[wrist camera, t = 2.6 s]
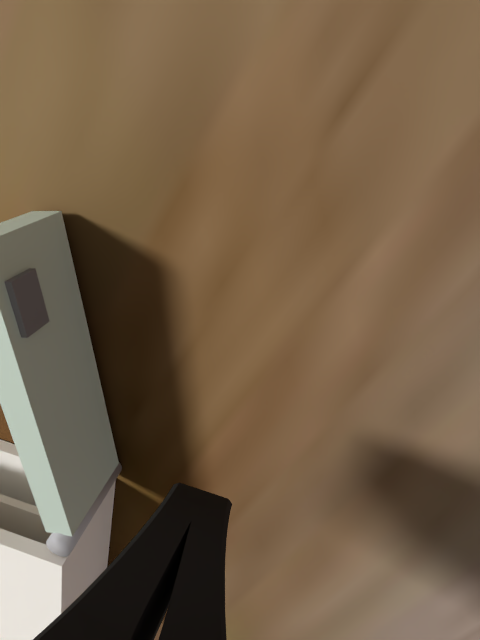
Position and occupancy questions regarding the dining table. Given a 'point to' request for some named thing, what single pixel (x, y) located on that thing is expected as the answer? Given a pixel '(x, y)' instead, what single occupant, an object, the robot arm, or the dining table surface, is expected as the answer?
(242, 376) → the dining table surface
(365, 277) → the dining table surface
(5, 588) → the cabinet
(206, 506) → the robot arm
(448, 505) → the dining table surface
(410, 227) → the dining table surface
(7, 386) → the door
